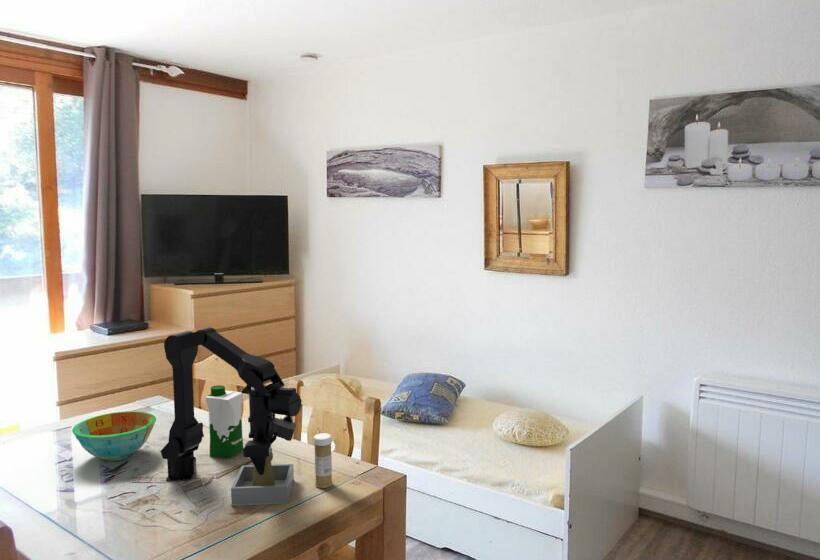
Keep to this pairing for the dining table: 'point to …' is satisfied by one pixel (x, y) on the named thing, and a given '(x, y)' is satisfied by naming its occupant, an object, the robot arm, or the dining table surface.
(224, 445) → the milk carton
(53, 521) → the dining table surface
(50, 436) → the dining table surface
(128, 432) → the bowl
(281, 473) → the box
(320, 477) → the sprinkles bottle
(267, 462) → the cork
